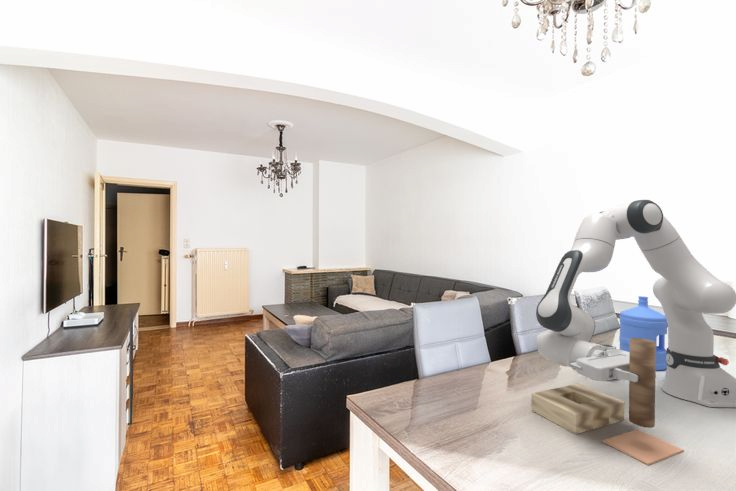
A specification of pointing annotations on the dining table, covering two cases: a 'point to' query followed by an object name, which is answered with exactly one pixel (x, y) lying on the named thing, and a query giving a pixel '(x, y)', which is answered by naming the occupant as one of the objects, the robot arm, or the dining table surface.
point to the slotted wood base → (578, 407)
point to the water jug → (644, 329)
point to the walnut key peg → (642, 382)
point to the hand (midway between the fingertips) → (646, 376)
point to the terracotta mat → (643, 446)
